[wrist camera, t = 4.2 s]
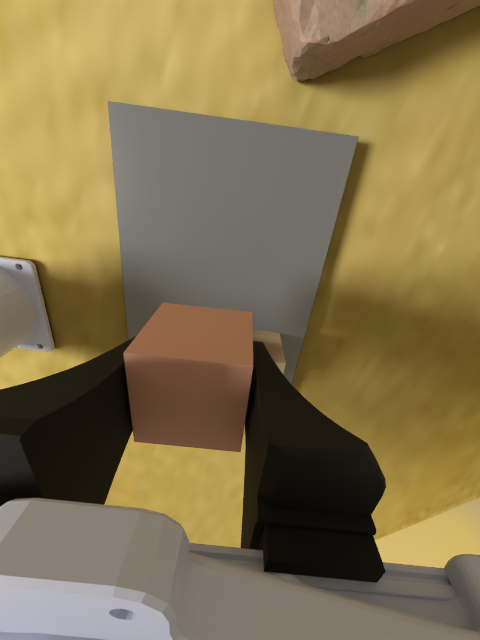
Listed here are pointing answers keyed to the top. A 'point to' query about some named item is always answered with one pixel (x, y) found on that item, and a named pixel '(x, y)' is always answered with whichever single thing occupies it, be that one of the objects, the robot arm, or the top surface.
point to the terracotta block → (191, 377)
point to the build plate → (225, 215)
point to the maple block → (272, 346)
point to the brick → (353, 28)
